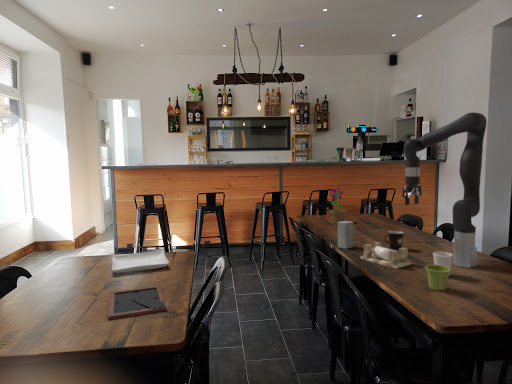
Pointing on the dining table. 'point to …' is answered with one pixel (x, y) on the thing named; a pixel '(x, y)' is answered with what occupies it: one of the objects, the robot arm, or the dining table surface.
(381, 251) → the roll
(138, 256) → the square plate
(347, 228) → the skincare box
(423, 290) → the dining table surface
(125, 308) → the picture frame
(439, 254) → the dixie cup
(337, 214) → the flowerpot
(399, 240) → the coffee mug
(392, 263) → the holder
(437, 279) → the plant pot
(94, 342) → the dining table surface
